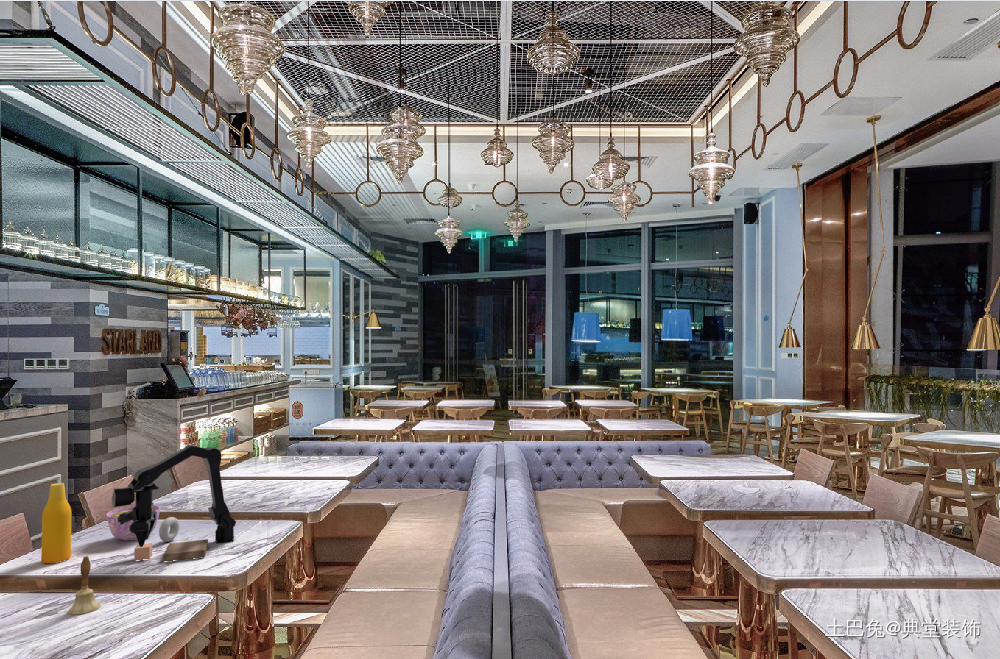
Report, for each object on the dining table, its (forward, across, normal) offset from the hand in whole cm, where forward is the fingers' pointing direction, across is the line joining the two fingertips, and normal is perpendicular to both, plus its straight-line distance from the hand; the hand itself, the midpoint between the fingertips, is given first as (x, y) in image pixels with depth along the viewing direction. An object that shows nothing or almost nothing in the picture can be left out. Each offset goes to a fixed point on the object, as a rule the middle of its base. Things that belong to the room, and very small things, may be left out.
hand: (143, 543), depth 230 cm
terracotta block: (+6, 0, 0) cm, 6 cm away
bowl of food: (+6, -31, -9) cm, 33 cm away
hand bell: (+6, +45, -8) cm, 46 cm away
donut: (+6, -20, +6) cm, 22 cm away
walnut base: (+6, +1, +15) cm, 16 cm away
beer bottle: (+6, -11, -31) cm, 34 cm away
